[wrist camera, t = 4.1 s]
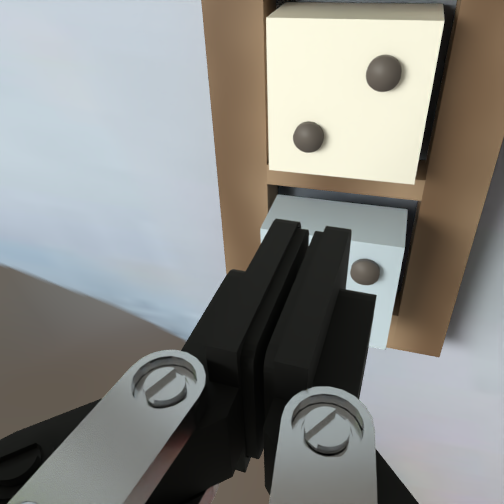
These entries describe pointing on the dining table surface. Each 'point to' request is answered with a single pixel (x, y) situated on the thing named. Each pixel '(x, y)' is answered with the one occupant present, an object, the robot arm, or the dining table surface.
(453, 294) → the wooden compartment tray
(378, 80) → the cream drawer
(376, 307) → the pale blue drawer
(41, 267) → the dining table surface
